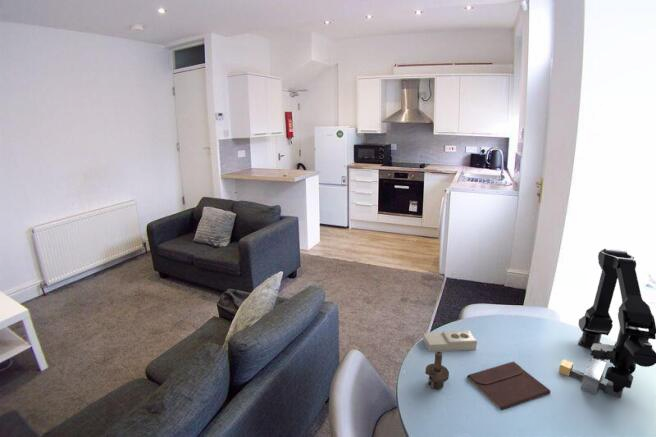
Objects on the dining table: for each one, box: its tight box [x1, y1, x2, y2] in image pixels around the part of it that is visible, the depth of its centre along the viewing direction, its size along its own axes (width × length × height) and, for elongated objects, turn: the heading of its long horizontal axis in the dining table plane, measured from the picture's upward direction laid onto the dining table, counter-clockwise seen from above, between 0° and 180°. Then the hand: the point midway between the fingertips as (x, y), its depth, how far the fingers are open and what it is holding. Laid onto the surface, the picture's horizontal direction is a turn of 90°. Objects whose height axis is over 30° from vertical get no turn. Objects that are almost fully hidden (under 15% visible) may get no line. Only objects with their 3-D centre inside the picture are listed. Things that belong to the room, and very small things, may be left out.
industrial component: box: [424, 351, 450, 390], centre depth 119 cm, size 9×7×12 cm
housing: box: [580, 356, 607, 396], centre depth 121 cm, size 12×4×6 cm, turn 136°
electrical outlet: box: [422, 329, 478, 352], centre depth 141 cm, size 7×4×18 cm
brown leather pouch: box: [466, 361, 551, 411], centre depth 121 cm, size 15×20×2 cm
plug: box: [558, 358, 624, 399], centre depth 122 cm, size 4×17×3 cm, turn 45°
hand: (616, 388), depth 117 cm, fingers closed on plug, 4 cm apart
